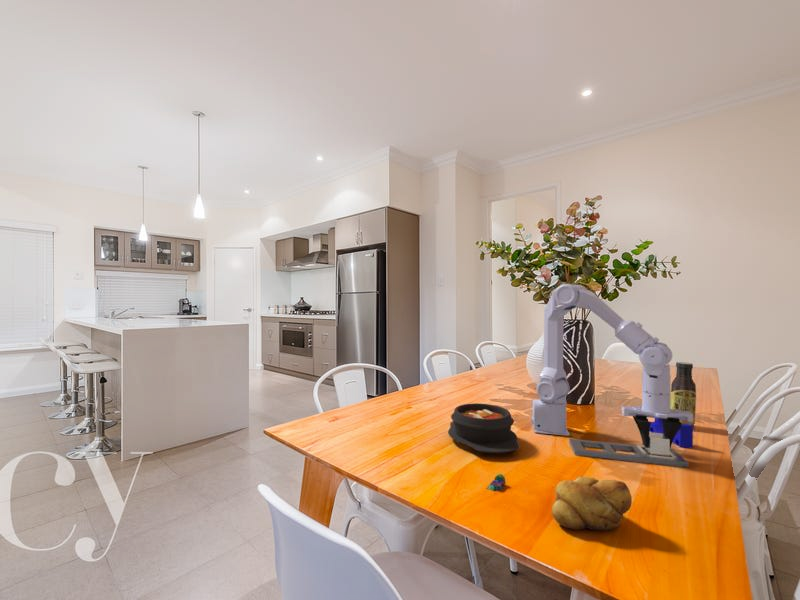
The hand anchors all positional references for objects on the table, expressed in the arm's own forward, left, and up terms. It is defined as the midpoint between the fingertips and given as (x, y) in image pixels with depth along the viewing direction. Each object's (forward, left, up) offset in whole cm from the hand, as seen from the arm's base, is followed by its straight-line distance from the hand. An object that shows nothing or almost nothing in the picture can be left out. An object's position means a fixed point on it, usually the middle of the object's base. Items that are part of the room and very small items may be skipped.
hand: (656, 447), depth 88 cm
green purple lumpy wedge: (-37, -25, -3) cm, 45 cm away
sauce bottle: (+17, +28, -3) cm, 33 cm away
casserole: (-42, -1, -3) cm, 42 cm away
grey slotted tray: (-7, 0, -3) cm, 7 cm away
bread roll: (-22, -33, -3) cm, 40 cm away
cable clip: (+9, +15, -3) cm, 18 cm away
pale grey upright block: (0, 0, -2) cm, 2 cm away
